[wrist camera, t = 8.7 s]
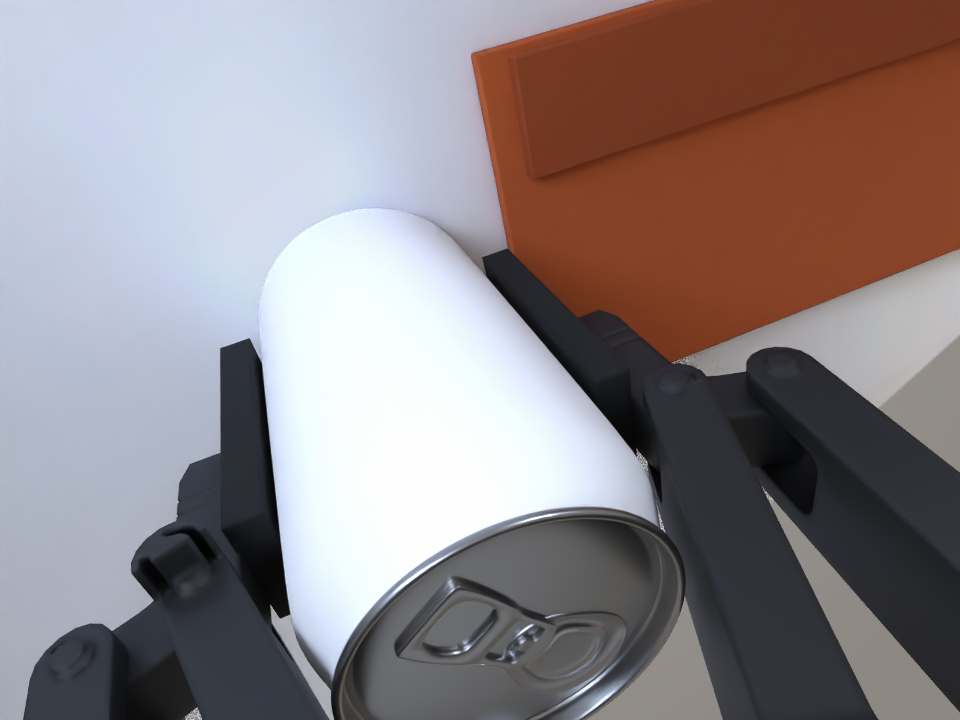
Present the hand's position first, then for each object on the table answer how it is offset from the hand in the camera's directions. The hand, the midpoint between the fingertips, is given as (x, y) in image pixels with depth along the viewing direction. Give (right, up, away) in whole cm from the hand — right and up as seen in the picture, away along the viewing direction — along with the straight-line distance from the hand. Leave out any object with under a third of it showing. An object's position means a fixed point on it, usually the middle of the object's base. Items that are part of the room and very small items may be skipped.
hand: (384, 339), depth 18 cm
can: (-1, +1, +2) cm, 2 cm away
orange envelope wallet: (+13, +6, +4) cm, 15 cm away
